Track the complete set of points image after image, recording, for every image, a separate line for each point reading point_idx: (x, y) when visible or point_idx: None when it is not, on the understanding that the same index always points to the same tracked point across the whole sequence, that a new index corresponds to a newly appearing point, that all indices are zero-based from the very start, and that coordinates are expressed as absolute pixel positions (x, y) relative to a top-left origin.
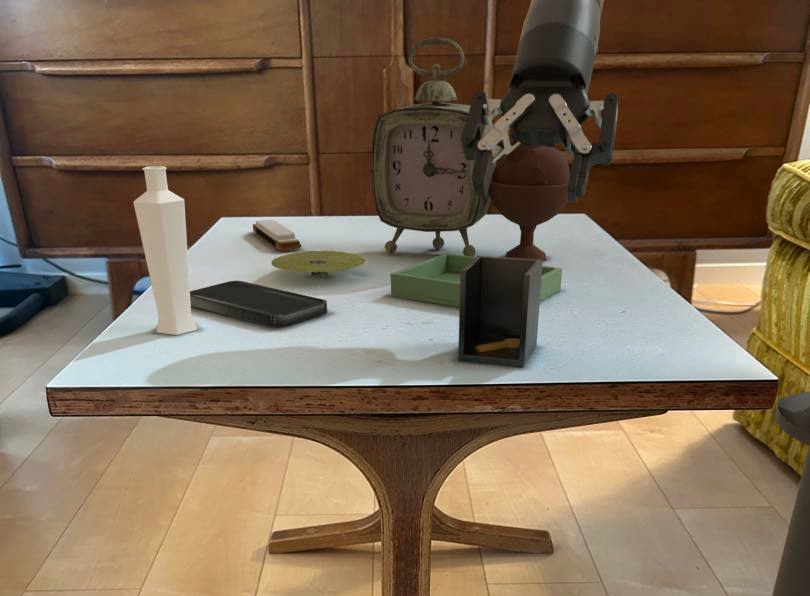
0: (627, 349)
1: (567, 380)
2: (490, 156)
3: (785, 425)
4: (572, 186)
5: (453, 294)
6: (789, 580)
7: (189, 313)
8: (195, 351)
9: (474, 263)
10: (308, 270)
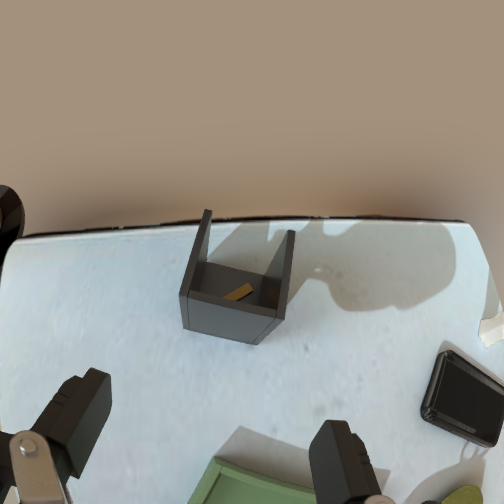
0: (85, 323)
1: (162, 232)
2: (344, 493)
3: (22, 226)
4: (96, 370)
5: (301, 488)
6: None
7: (489, 329)
8: (458, 286)
9: (282, 270)
10: (457, 495)
